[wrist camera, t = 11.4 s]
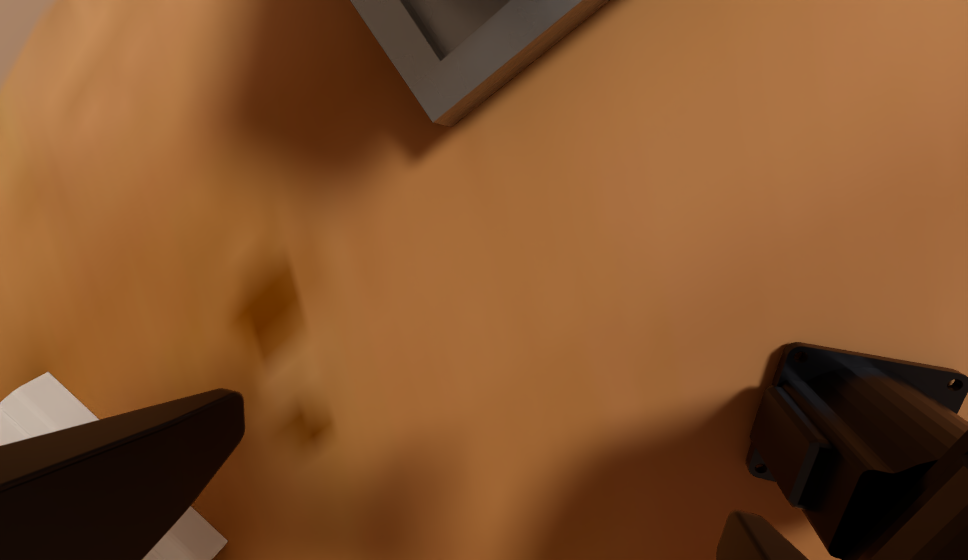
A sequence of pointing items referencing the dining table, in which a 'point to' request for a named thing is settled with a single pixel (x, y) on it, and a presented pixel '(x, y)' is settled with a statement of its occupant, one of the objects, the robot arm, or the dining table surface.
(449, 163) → the dining table surface
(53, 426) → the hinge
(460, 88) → the square collar
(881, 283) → the dining table surface
